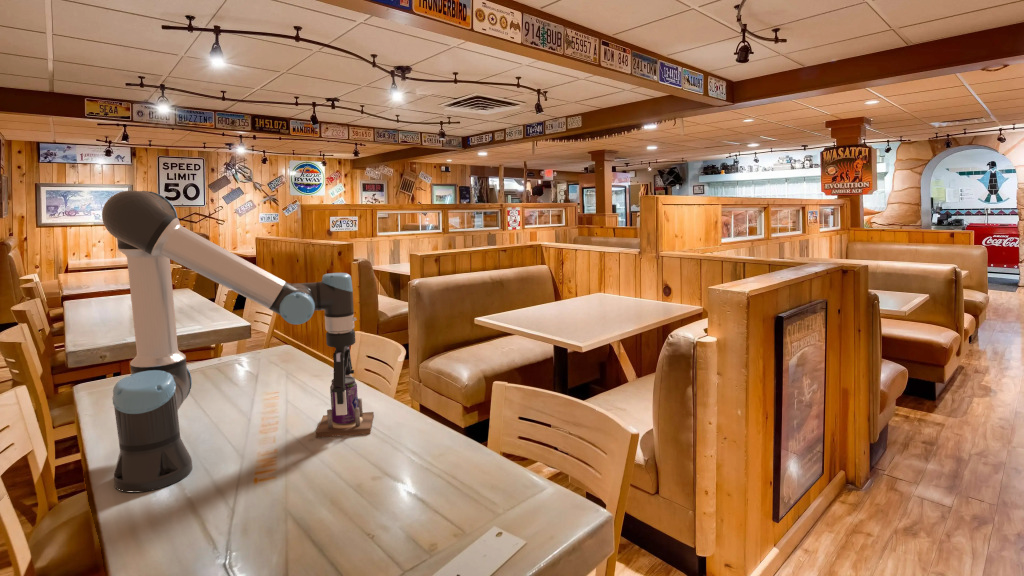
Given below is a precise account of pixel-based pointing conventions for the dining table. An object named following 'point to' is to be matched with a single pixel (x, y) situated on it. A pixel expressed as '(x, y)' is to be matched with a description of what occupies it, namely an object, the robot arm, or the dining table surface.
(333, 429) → the pin board
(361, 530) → the dining table surface
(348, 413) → the beverage can
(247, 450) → the dining table surface
